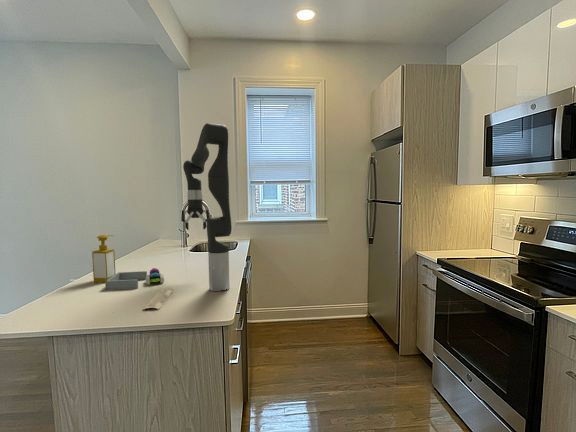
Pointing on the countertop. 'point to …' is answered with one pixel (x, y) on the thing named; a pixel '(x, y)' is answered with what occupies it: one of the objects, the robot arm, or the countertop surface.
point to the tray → (125, 280)
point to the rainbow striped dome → (154, 276)
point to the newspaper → (158, 299)
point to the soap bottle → (103, 261)
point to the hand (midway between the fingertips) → (196, 229)
